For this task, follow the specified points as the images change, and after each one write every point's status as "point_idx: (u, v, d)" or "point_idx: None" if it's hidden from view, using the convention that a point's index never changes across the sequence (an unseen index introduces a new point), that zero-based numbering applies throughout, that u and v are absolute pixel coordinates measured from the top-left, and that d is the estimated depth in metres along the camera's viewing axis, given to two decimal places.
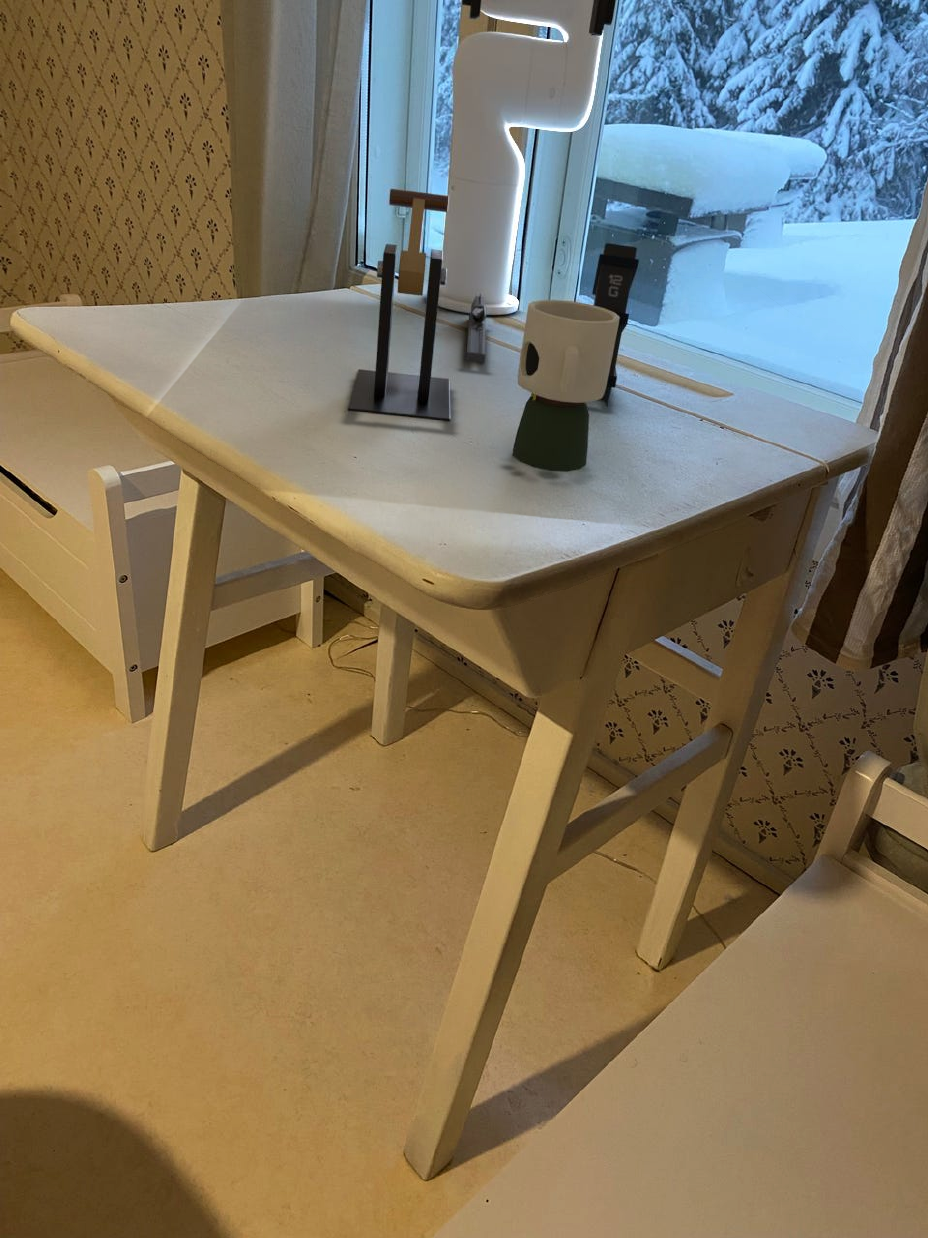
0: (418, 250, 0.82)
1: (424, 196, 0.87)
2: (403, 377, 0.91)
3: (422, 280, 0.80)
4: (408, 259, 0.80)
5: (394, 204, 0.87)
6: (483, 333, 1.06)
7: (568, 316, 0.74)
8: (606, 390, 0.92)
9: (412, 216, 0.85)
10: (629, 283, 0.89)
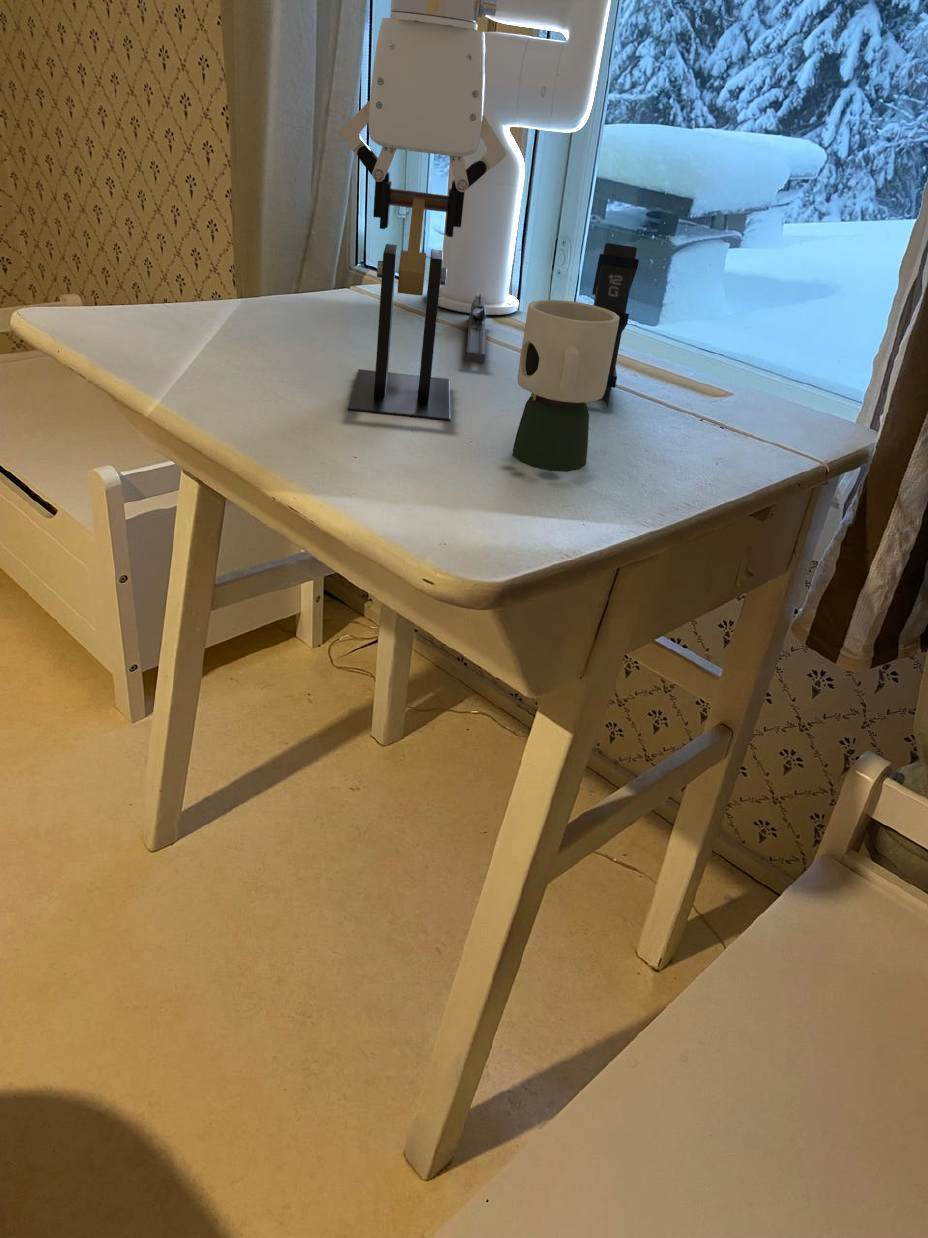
0: (418, 250, 0.82)
1: (424, 196, 0.87)
2: (403, 377, 0.91)
3: (422, 280, 0.80)
4: (408, 259, 0.80)
5: (394, 204, 0.87)
6: (483, 333, 1.06)
7: (568, 316, 0.74)
8: (606, 390, 0.92)
9: (412, 216, 0.85)
10: (629, 283, 0.89)
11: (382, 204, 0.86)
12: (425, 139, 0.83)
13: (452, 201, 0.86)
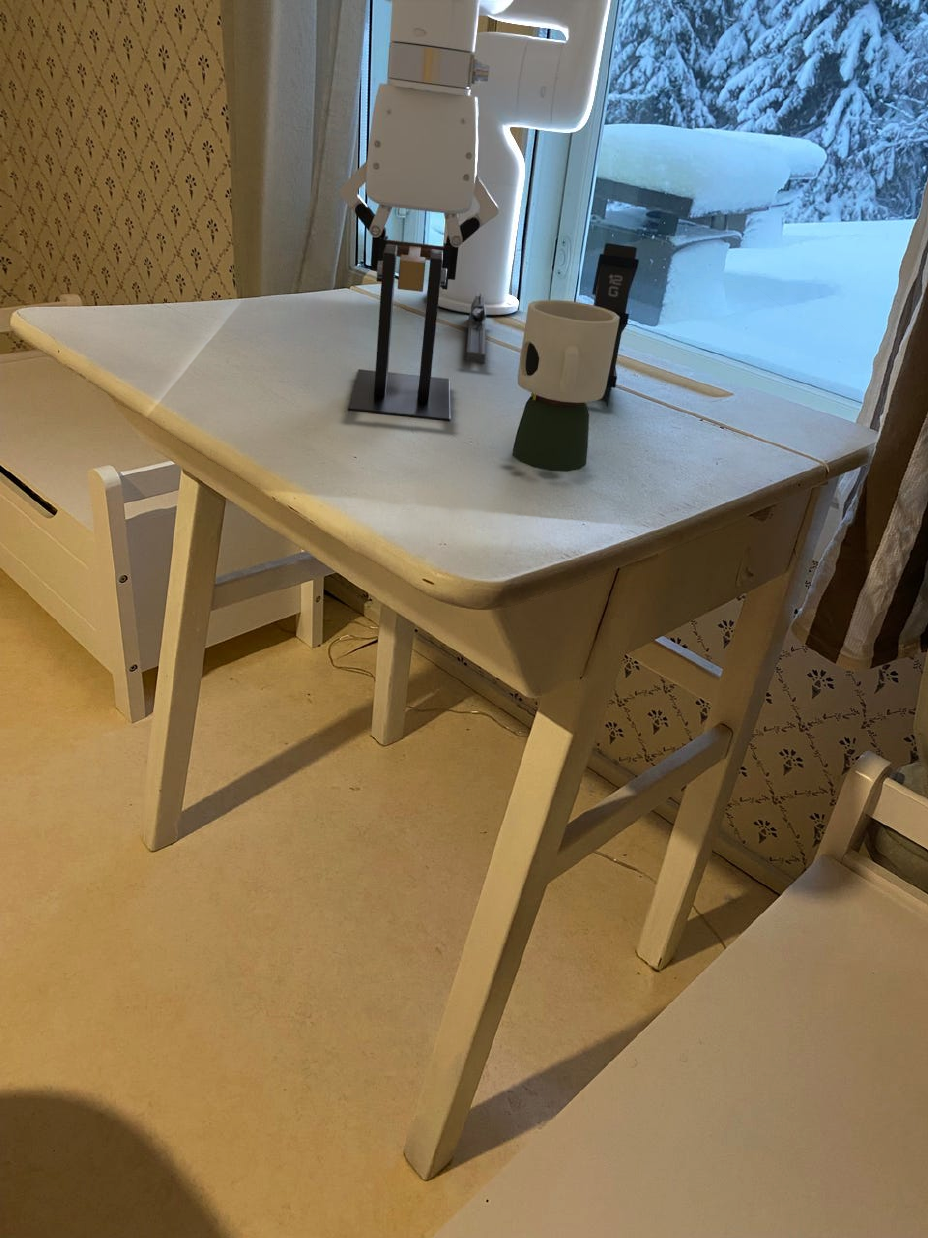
0: None
1: (420, 244, 0.90)
2: (403, 377, 0.91)
3: (423, 272, 0.80)
4: (408, 257, 0.81)
5: None
6: (483, 333, 1.06)
7: (568, 316, 0.74)
8: (606, 390, 0.92)
9: (409, 251, 0.87)
10: (629, 283, 0.89)
11: (379, 258, 0.89)
12: (420, 198, 0.86)
13: (446, 256, 0.89)
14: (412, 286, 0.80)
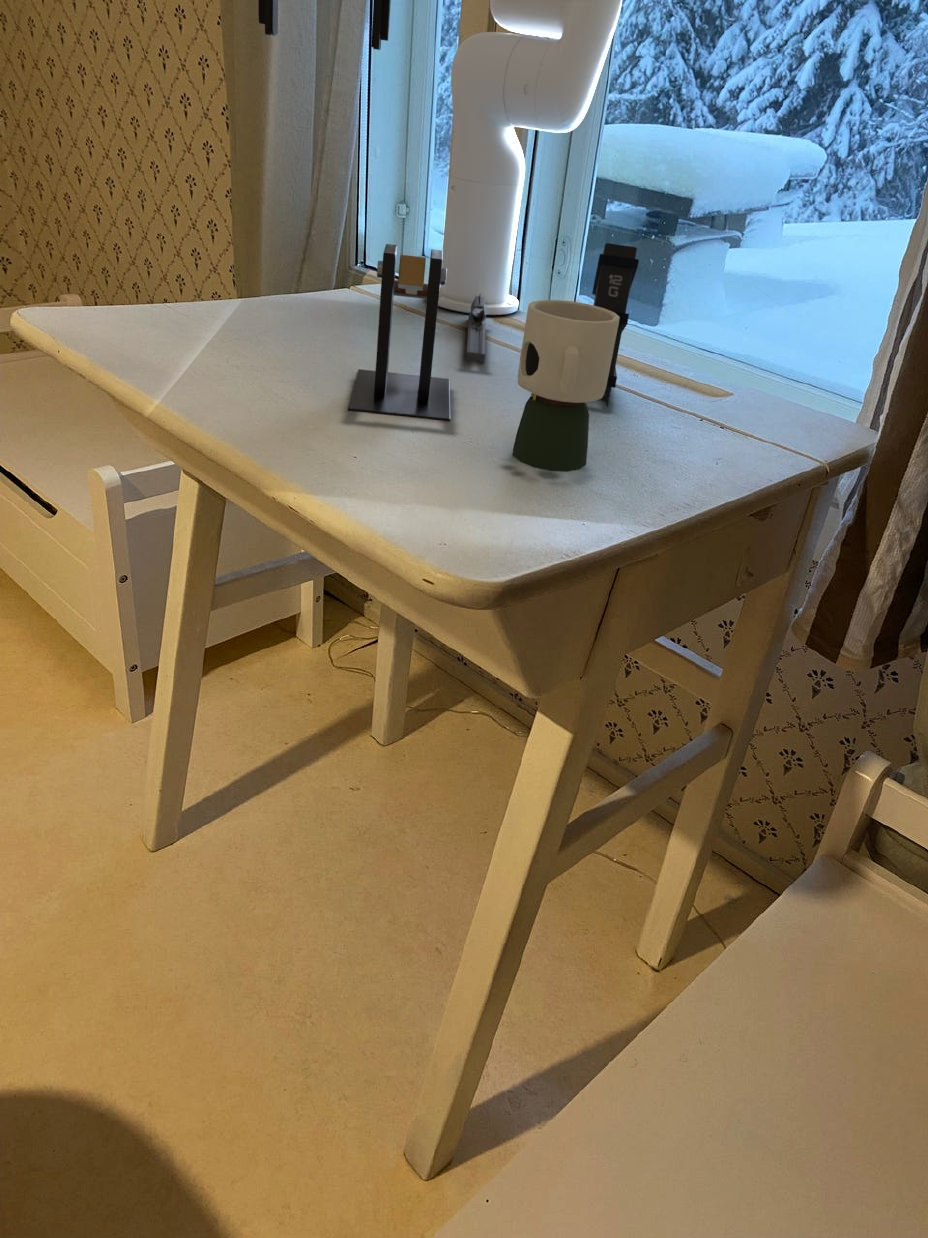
0: None
1: None
2: (403, 377, 0.91)
3: (423, 267, 0.80)
4: None
5: None
6: (483, 333, 1.06)
7: (568, 316, 0.74)
8: (606, 390, 0.92)
9: None
10: (629, 283, 0.89)
11: (266, 6, 0.83)
12: None
13: (377, 8, 0.83)
14: (412, 280, 0.80)
